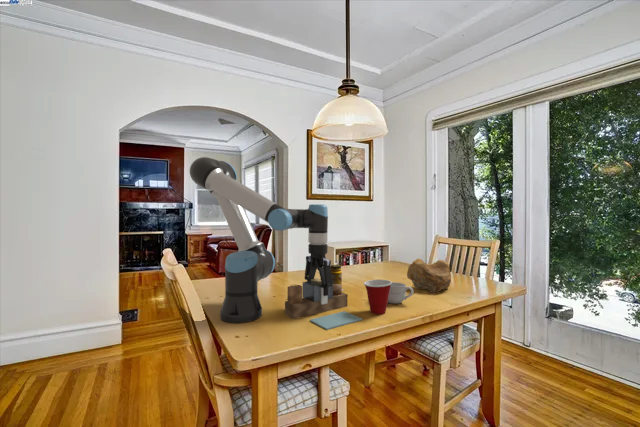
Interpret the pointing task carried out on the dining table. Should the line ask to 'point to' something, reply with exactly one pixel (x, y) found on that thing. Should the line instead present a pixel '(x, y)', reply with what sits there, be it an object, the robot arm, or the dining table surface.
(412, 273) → the rough brown rock
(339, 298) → the plane body
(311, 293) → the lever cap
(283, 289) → the dining table surface
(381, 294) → the plastic cup
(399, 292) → the teacup
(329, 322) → the rubber mat
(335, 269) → the condiment
